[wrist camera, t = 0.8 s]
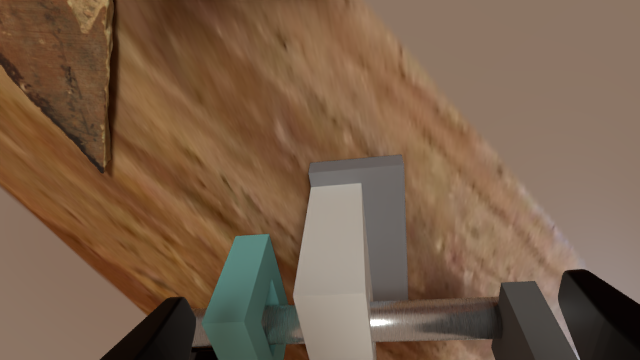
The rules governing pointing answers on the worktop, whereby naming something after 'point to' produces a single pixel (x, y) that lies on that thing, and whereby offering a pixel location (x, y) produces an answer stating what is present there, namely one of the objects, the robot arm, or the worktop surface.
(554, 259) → the worktop surface
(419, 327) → the shaft
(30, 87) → the shard
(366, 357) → the bracket
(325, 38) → the worktop surface
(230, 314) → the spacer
